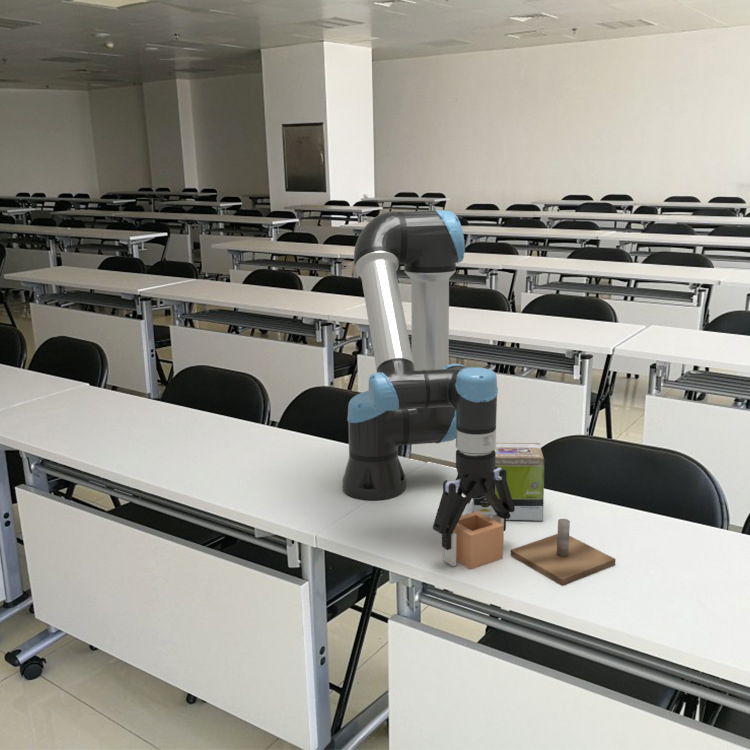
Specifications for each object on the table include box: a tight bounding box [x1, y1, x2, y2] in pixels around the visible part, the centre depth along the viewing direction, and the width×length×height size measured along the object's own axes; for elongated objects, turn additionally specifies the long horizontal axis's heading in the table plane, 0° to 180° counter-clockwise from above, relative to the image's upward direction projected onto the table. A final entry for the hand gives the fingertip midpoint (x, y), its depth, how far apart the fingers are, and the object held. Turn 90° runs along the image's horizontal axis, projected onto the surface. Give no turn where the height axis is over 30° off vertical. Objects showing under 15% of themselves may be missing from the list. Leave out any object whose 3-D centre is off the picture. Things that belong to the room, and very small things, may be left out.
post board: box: [510, 518, 616, 586], centre depth 154 cm, size 14×14×8 cm
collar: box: [448, 511, 504, 570], centre depth 156 cm, size 8×8×7 cm
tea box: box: [472, 442, 545, 522], centre depth 175 cm, size 15×10×15 cm
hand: (474, 554), depth 157 cm, fingers open, 11 cm apart
